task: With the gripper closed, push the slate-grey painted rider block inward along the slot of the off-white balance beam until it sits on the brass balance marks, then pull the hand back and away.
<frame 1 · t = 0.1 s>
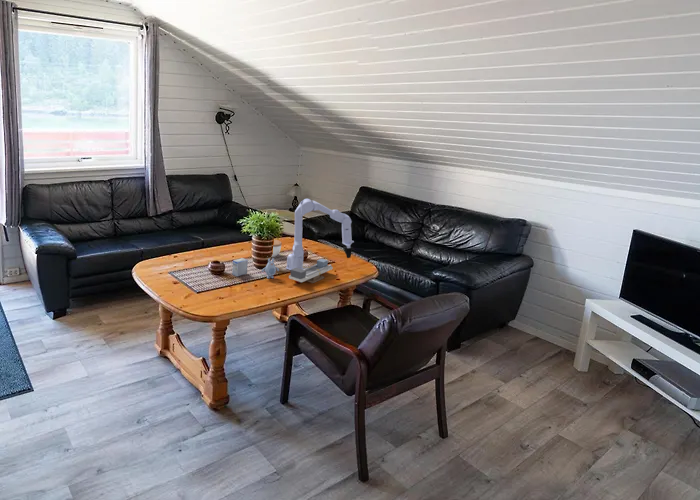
hand: (347, 255, 318), 10 cm above the table, tool pointing down, fingers open, 7 cm apart
rider: (322, 263, 310), point 7 cm above the table, slide at 9.0 cm
balance beam: (310, 278, 303), on the table
medicine box: (239, 274, 297), on the table
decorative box: (271, 255, 336), on the table
toy figure: (270, 278, 297), on the table
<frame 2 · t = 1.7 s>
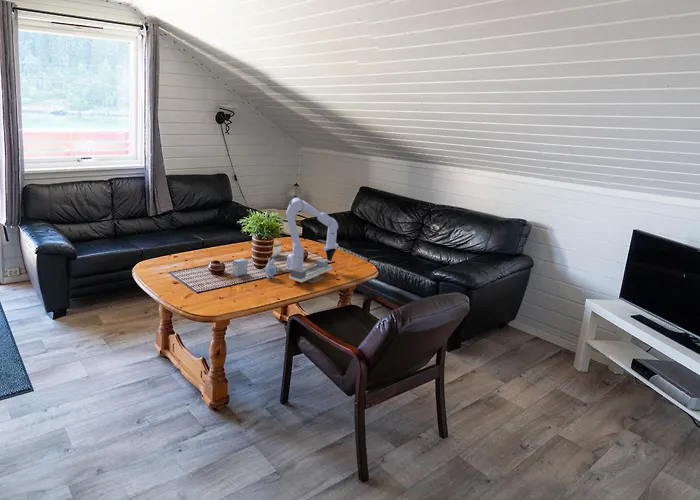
hand: (329, 260, 317), 7 cm above the table, tool pointing down, fingers closed
nothing on the table moved.
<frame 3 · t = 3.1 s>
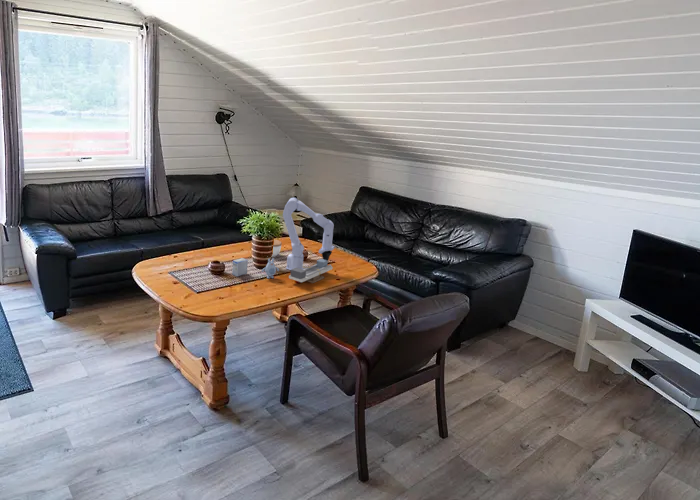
hand: (325, 262, 313), 7 cm above the table, tool pointing down, fingers closed
rider: (322, 263, 310), point 7 cm above the table, slide at 8.8 cm, touching gripper
everything else where it was.
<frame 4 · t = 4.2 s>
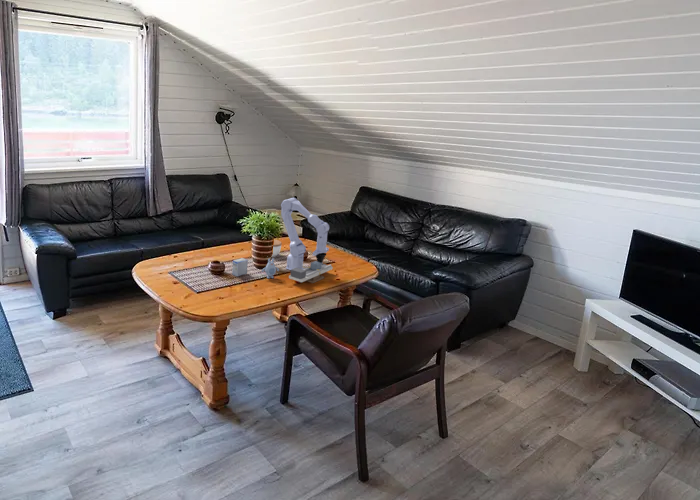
hand: (319, 264, 308), 7 cm above the table, tool pointing down, fingers closed
rider: (316, 265, 305), point 7 cm above the table, slide at 2.5 cm, touching gripper
everything else where it was.
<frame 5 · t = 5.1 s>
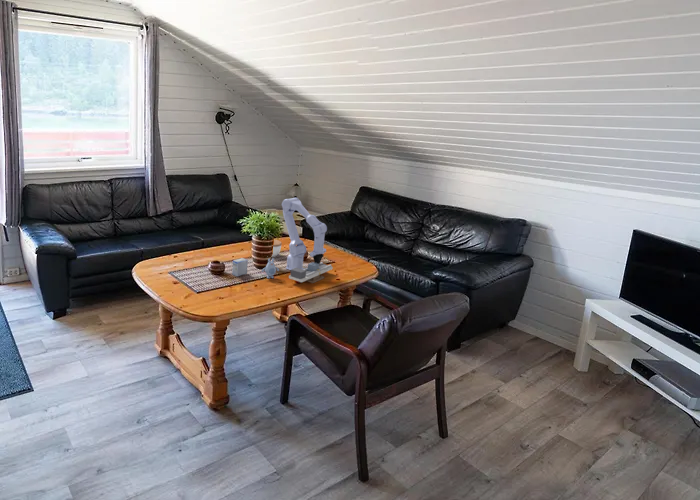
hand: (316, 265, 305), 7 cm above the table, tool pointing down, fingers closed
rider: (313, 267, 302), point 7 cm above the table, slide at -0.5 cm, touching gripper
everything else where it was.
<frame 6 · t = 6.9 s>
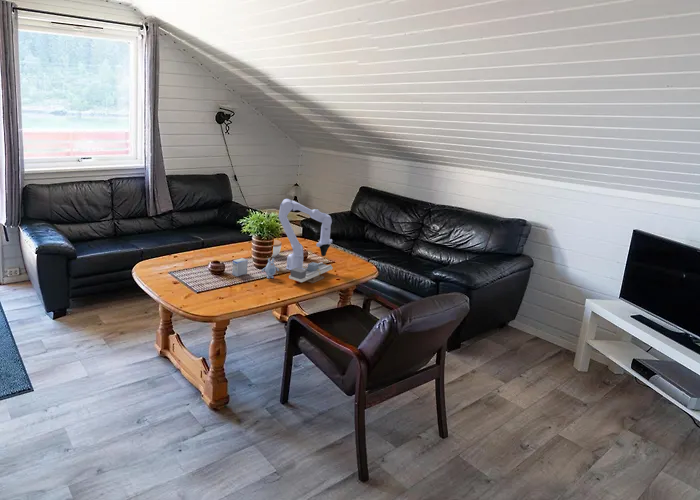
hand: (323, 255, 314), 10 cm above the table, tool pointing down, fingers closed
rider: (313, 267, 302), point 7 cm above the table, slide at -0.5 cm
everything else where it was.
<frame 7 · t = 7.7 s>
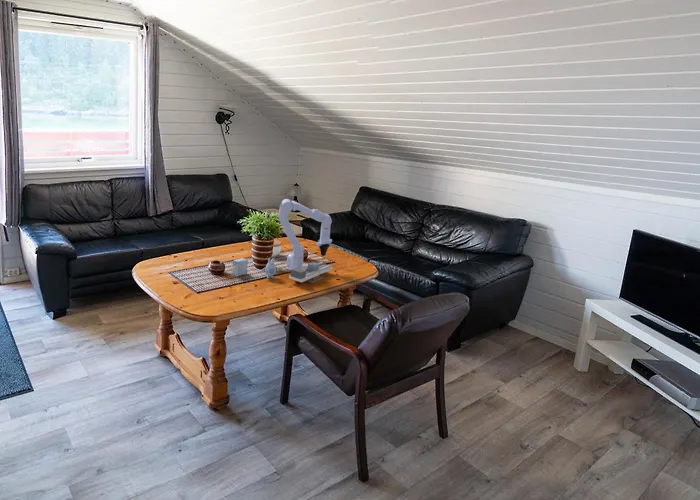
hand: (323, 255, 315), 10 cm above the table, tool pointing down, fingers closed
nothing on the table moved.
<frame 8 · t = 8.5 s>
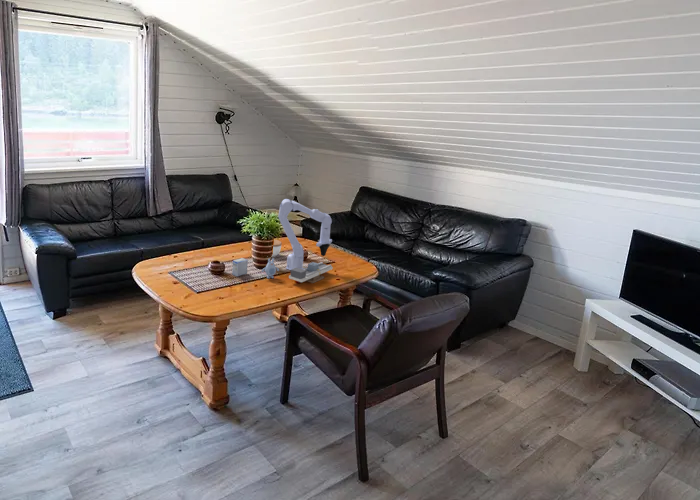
hand: (323, 255, 315), 10 cm above the table, tool pointing down, fingers closed
nothing on the table moved.
at the end: rider slide at -0.5 cm; the gripper is holding nothing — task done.
